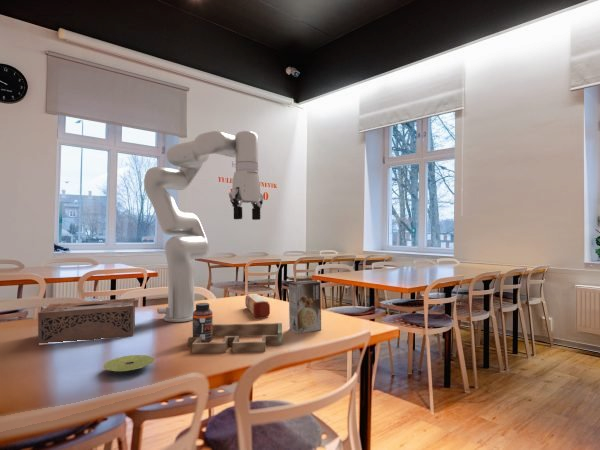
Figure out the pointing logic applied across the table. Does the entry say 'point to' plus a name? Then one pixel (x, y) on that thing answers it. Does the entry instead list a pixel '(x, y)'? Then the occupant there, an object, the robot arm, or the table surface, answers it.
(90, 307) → the tissue box cover
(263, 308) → the snack package
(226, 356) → the table surface
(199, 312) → the supplement bottle
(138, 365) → the green disc
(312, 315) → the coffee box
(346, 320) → the table surface
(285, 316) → the table surface
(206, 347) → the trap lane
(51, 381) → the table surface
